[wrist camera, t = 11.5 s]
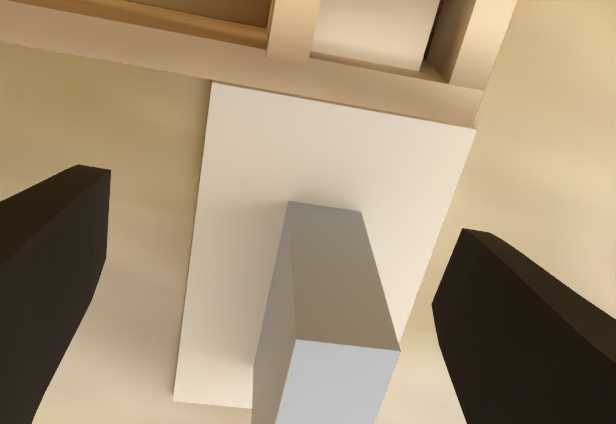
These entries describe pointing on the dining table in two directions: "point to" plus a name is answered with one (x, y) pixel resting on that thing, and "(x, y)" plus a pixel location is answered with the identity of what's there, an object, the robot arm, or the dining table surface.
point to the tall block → (323, 324)
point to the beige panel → (311, 190)
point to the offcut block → (375, 30)
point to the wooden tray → (274, 50)
